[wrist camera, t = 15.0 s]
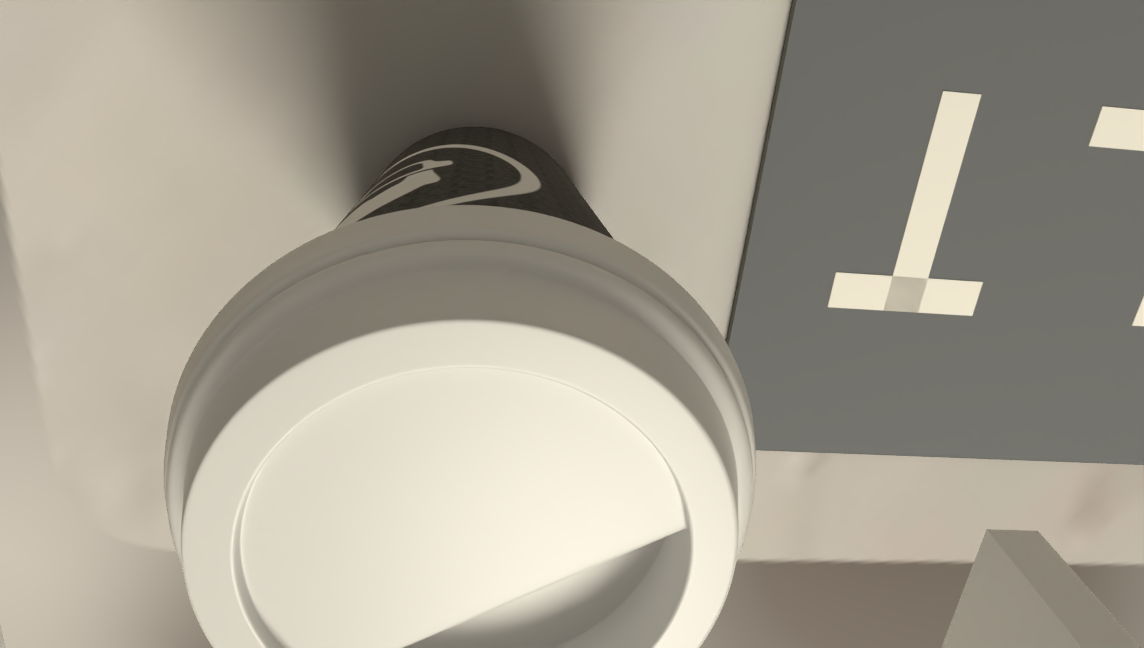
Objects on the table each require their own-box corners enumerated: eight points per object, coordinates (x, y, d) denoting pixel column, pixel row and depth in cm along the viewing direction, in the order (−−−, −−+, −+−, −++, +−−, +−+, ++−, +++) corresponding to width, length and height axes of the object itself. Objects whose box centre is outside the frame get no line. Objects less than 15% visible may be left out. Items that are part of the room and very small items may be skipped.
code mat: (820, -142, 22) (825, -143, 22) (1414, -65, 25) (1427, -65, 24) (706, 443, 30) (708, 448, 29) (1173, 461, 32) (1180, 466, 32)
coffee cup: (340, 385, 28) (200, 827, 14) (287, 80, 24) (20, 284, 10) (634, 363, 28) (774, 764, 15) (632, 62, 24) (823, 230, 11)
